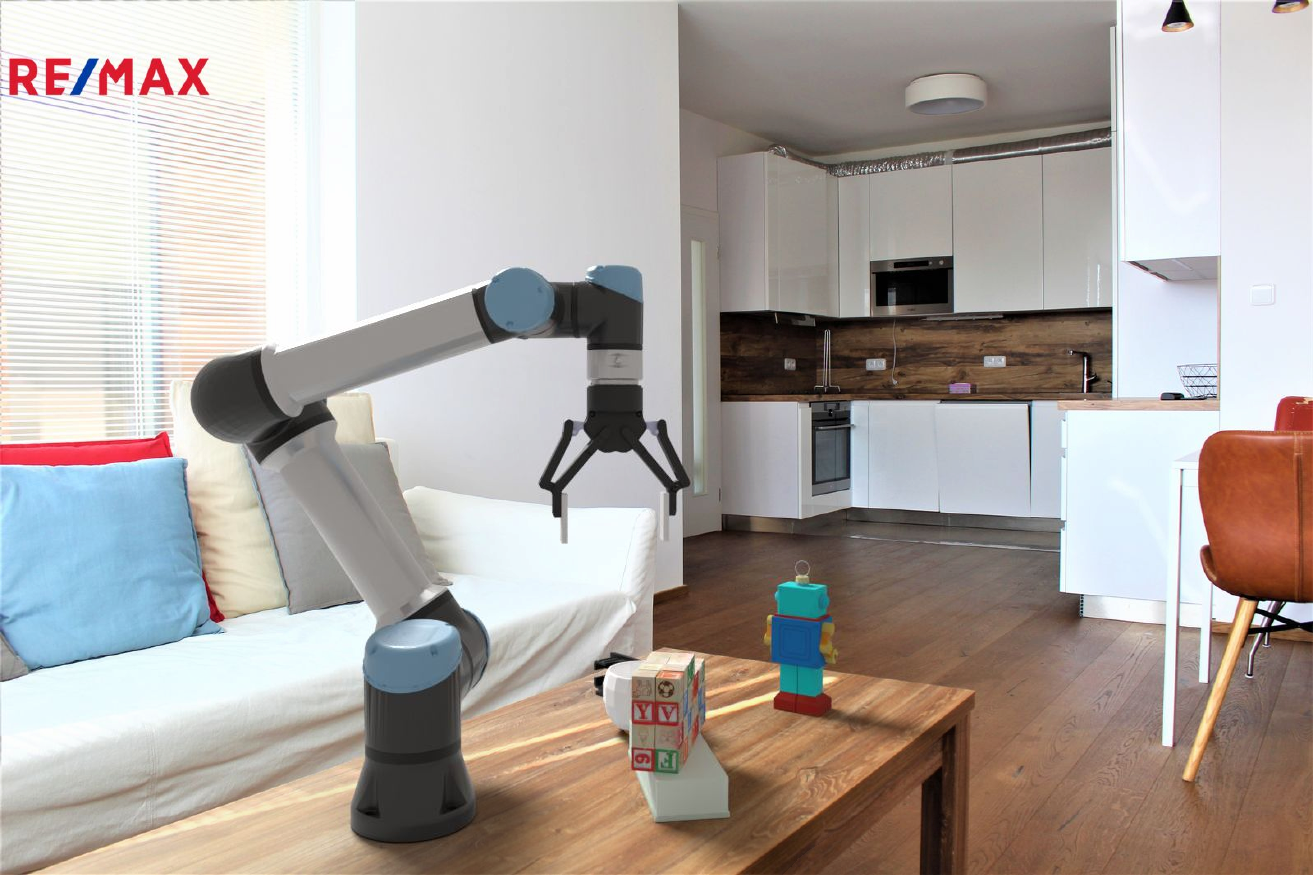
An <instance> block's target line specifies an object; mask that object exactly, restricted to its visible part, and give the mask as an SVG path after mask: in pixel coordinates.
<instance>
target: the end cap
mask: <svg viewBox="0 0 1313 875" xmlns="http://www.w3.org/2000/svg"><path fill="white" fill-rule="evenodd" d="M628 661H644V660H643V659H639V658H636V657H634V656H630V655H626V654H622V653H619V652H616V651H610V652H609V657H606V658H602V659H601V658H600V659H598V660H597V659H596V660H594V662H593V671H599V670H604V669H606V671H607V670H608V668H609V667H610V666H612V665H615V664H617V663H622V662H628ZM605 675H606V673H605V674H603V675H598V676H594V677H593V685H594V686H593V687H594V688H596V689H597V690H595V691H594V692H595V695H596V696H600V697H602V698H603V682H604V679H605Z"/></svg>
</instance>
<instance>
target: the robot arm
mask: <svg viewBox="0 0 1313 875" xmlns="http://www.w3.org/2000/svg"><path fill="white" fill-rule="evenodd" d="M643 285H644V284H643V275H642V272H641V271H640V270H639V269H638V268H636V267H633V266H631V265H624V264H623V265H618V264H606V265H605V264H604V265H594V266H590V267H589V268H588V269H587V271H586V277H585V279H584V280H583V281H582V280H581V281H573V282H570V281H548V280H547V279H546V278H545V277H544V275H543V274H540V273H539V272H538V271H536V270H533V269H531V268H528V267H525V268H524V267H520V266H519V267H518V266H515V267H513V266H512V267H509V268H505V269H502V270H501V271H499V272H497V273H496V274H495V275H494V276H493V277H492V278H491V279H489V280H485V281H481V282H480V283H477V284H474V285H469V286H467V287H464V288H461V289H458V290H455V291H451V292H449V293H445V294H441V295H440V296H439V295H438V296H436V297H434V298H430V299H427V300H426V299H425V300H424V301H421V302H417V303H413V304H411V305H408V306H405V307H402V308H399V309H395V310H393V311H390V312H387V313H384V314H381V315H377V316H374V317H371V318H368V319H365V320H362V321H358V322H356V323H353V324H350V325H346V326H344V327H343V326H342V327H341V328H337V329H334V330H331V331H328V332H324V333H322V334H319V335H315V336H313V337H309V338H306V339H303V340H300V341H296V342H293V343H291V344H288V345H285V346H281V345H280V344H277V343H276V342H267V343H266V342H265V343H263V344H260V345H258V346H257V345H256V346H254V347H250V348H248V349H242V350H238V351H235V352H230V353H227V354H222V355H219V356H217V357H216V358H215V357H214V358H213V359H212V360H210V361H208V362H207V363H206V364H205V365H203V367H202V368H201V369H200V370H199V371H198V372H197V374H196V376H195V378H194V379H193V382H192V386H191V388H190V395H189V396H190V407H191V411H192V413H193V416H194V417H195V420H196V421H197V423H198V425H200V427H201V428H202V429H203V430H205V432H206V433H207V434H209V435H210V436H212V437H214V438H215V439H217V440H220V441H221V442H225V443H230V444H234V445H236V444H238V445H244V444H245V445H246V447H247V449H248V450H249V452H250V453H251V455H252V456H253V457H254V459H255V460H256V462H257V463H258V465H259V467H260V468H261V469H263V470H268V471H272V472H276V473H277V474H279V475H280V476H281V478H282V480H283V481H284V483H285V484H286V485H287V487H288V488H289V490H290V491H291V493H292V494H293V496H294V497H295V499H296V500H297V502H298V504H299V505H300V506H301V508H302V509H303V511H304V513H305V514H306V515H307V517H308V518H309V520H310V522H311V523H312V524H313V526H314V528H315V529H316V530H317V532H318V533H319V535H320V537H321V538H322V540H323V541H324V543H325V544H326V545H327V547H328V549H329V550H330V551H331V554H333V556H334V558H335V559H336V560H337V562H338V563H339V565H340V566H341V568H342V569H343V571H344V572H345V574H346V576H347V577H348V578H349V580H350V581H351V583H352V584H353V586H354V587H355V589H356V590H357V592H358V593H359V595H360V596H361V598H362V599H363V601H364V602H365V604H366V605H367V607H368V608H369V610H370V611H371V613H372V614H373V615H374V617H375V619H376V624H375V629H374V631H373V633H372V634H371V635H370V636H369V637H368V639H367V640H366V643H365V646H364V655H363V659H362V667H361V668H362V674H363V703H364V704H363V706H364V712H363V713H364V761H363V765H362V768H361V770H360V774H359V778H358V781H357V782H356V786H355V789H354V792H353V796H352V800H351V802H350V827H351V828H352V830H353V831H354V832H355V833H356V834H358V835H360V836H361V837H365V838H367V839H371V840H374V841H381V842H386V843H387V842H388V843H410V842H421V841H427V840H428V841H429V840H432V839H436V838H440V837H444V836H446V835H447V836H448V835H449V834H452V833H455V832H457V831H459V830H462V829H463V828H464V827H466V826H467V825H469V824H470V823H471V822H472V821H473V820H474V818H475V816H476V814H477V813H476V812H477V811H476V810H477V806H476V805H477V796H476V792H475V791H476V790H475V788H474V785H473V782H472V780H471V779H472V778H471V776H470V774H469V770H468V768H467V765H466V762H465V759H464V756H463V750H462V702H463V701H464V699H465V697H466V696H468V694H469V692H470V691H471V690H472V689H474V688H475V687H476V686H477V685H478V684H479V682H480V681H481V680H482V678H483V677H484V675H485V672H486V671H487V670H486V669H487V667H488V664H489V662H490V661H489V660H490V657H491V656H490V655H491V639H490V636H489V632H488V629H487V628H486V626H485V624H484V623H483V622H482V620H481V619H480V618H479V617H478V616H477V615H476V614H475V613H474V612H472V611H470V610H468V609H466V608H464V607H461V605H460V604H459V603H458V601H457V599H456V598H455V597H454V595H453V593H452V592H451V591H450V589H449V588H448V586H444V585H439V584H434V583H432V582H431V581H430V580H429V578H428V576H427V575H426V573H425V572H424V571H423V569H422V568H421V566H420V564H419V563H418V562H417V560H416V559H415V557H414V556H413V554H412V552H411V551H410V550H409V548H408V547H407V545H406V543H405V541H404V540H403V539H402V538H401V535H399V533H398V532H397V530H396V529H395V527H394V525H393V524H392V523H391V521H390V520H389V518H388V517H387V515H386V513H385V512H384V510H383V509H382V508H381V506H380V504H379V503H378V501H377V500H376V498H375V497H374V494H372V492H371V491H370V489H369V488H368V486H367V485H366V483H365V482H364V480H363V479H362V477H361V476H360V474H359V473H358V472H357V470H356V468H355V467H354V465H353V463H351V461H350V460H349V458H348V456H347V455H346V454H345V452H344V450H343V448H341V446H340V445H339V443H338V442H337V440H336V434H337V429H338V425H339V423H338V421H337V420H336V418H335V416H334V415H333V414H332V412H331V410H330V409H329V407H328V398H331V397H334V396H337V395H340V394H344V393H346V392H351V391H354V390H355V389H359V388H362V387H364V386H368V385H371V384H373V383H377V382H381V381H384V380H386V379H390V378H392V377H395V376H399V375H402V374H405V373H408V372H411V371H414V370H417V369H420V368H424V367H426V366H430V365H433V364H435V363H439V362H442V361H445V360H448V359H451V358H454V357H457V356H460V355H464V354H466V353H469V352H473V351H475V350H479V349H482V348H485V347H487V346H491V345H495V344H498V343H502V342H505V341H508V340H512V339H517V340H524V341H525V340H529V339H586V379H587V380H588V381H590V384H588V385H587V387H586V416H585V420H584V421H579V420H572V419H570V418H565V419H564V420H563V423H562V430H561V436H560V438H559V440H558V442H557V444H556V446H555V448H554V450H553V452H552V454H551V456H550V458H549V461H548V462H547V464H546V466H545V467H544V470H543V472H542V474H541V476H540V478H539V480H538V484H537V485H538V486H539V488H540V489H541V490H545V491H548V492H550V493H551V514H552V516H553V518H555V519H557V518H559V519H560V522H559V523H560V525H559V526H560V529H559V531H560V534H559V535H560V538H559V540H560V543H561V544H563V545H564V544H565V545H566V544H568V541H569V539H568V537H569V536H568V532H569V531H568V528H569V527H568V523H569V522H568V519H569V518H568V514H569V513H568V509H569V508H568V506H569V502H568V498H569V497H568V495H569V494H568V493H567V492H563V491H564V490H565V488H566V487H567V486H568V485H569V483H570V482H571V481H572V480H573V479H574V478H575V477H576V475H577V474H578V473H579V472H580V470H582V468H583V467H584V466H585V465H586V463H587V462H588V461H589V459H591V457H592V456H594V455H595V453H597V451H599V452H602V453H604V454H610V453H614V452H616V453H617V452H618V453H620V454H622V453H623V454H627V453H629V452H631V451H633V452H634V453H635V454H636V455H637V456H638V457H639V458H640V460H641V461H642V462H643V463H644V465H645V466H646V467H647V468H648V469H649V470H650V472H651V473H652V474H653V475H654V476H655V478H656V479H657V480H658V481H659V482H660V483H661V485H662V486H663V487H664V488H665V490H664V491H660V492H659V539H660V540H661V541H662V542H664V543H665V542H669V541H670V517H675V516H676V514H677V510H678V509H677V504H678V503H677V502H678V501H677V497H678V495H677V494H678V492H679V491H680V490H682V489H684V488H689V487H690V486H691V480H690V478H689V476H688V474H687V472H686V470H685V468H684V466H683V464H682V462H681V459H680V457H679V456H678V453H677V451H676V449H675V448H674V446H673V443H672V442H671V439H670V437H669V434H668V425H667V421H666V420H665V419H663V418H657V419H655V420H651V421H650V420H649V421H646V420H645V418H644V387H642V385H640V384H639V381H642V380H643V379H644V372H643V371H644V364H643V363H644V361H643V360H644V358H643V357H644V355H643V354H644V353H643V352H644V351H643V349H644V345H643V344H644V292H643V291H644V290H643V289H644V288H643ZM581 430H582V431H584V433H585V434H586V436H587V437H588V438H589V441H588V442H587V444H585V445H584V446H583V448H582V450H581V451H580V452H579V453H578V455H577V456H576V457H575V458H574V459H573V460H572V462H571V463H570V464H569V465H568V467H566V469H565V470H564V471H563V472H562V473H561V474H560V476H559V477H558V478H557V479H556V481H555V482H554V481H552V480H553V478H554V476H555V474H556V471H557V469H559V468H558V467H559V465H560V463H561V461H562V460H563V458H564V456H565V454H566V452H567V449H568V448H569V446H570V443H571V441H572V438H573V437H576V436H578V434H579V432H580V431H581ZM646 430H649V432H650V434H651V436H654V437H656V439H657V442H658V444H659V446H660V448H661V450H662V453H663V454H664V456H665V459H666V460H667V463H668V465H669V466H670V468H671V471H672V472H673V475H674V476H675V480H673V479H672V478H671V477H670V476H669V474H668V473H667V472H666V471H665V470H664V469H663V468H662V466H661V465H660V464H659V463H658V461H657V460H656V459H655V457H654V456H652V454H651V453H650V452H649V451H648V450H647V448H646V447H645V445H644V444H643V443H642V442H641V441H640V440H641V439H642V437H643V436H644V434H645V432H646Z"/></svg>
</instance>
